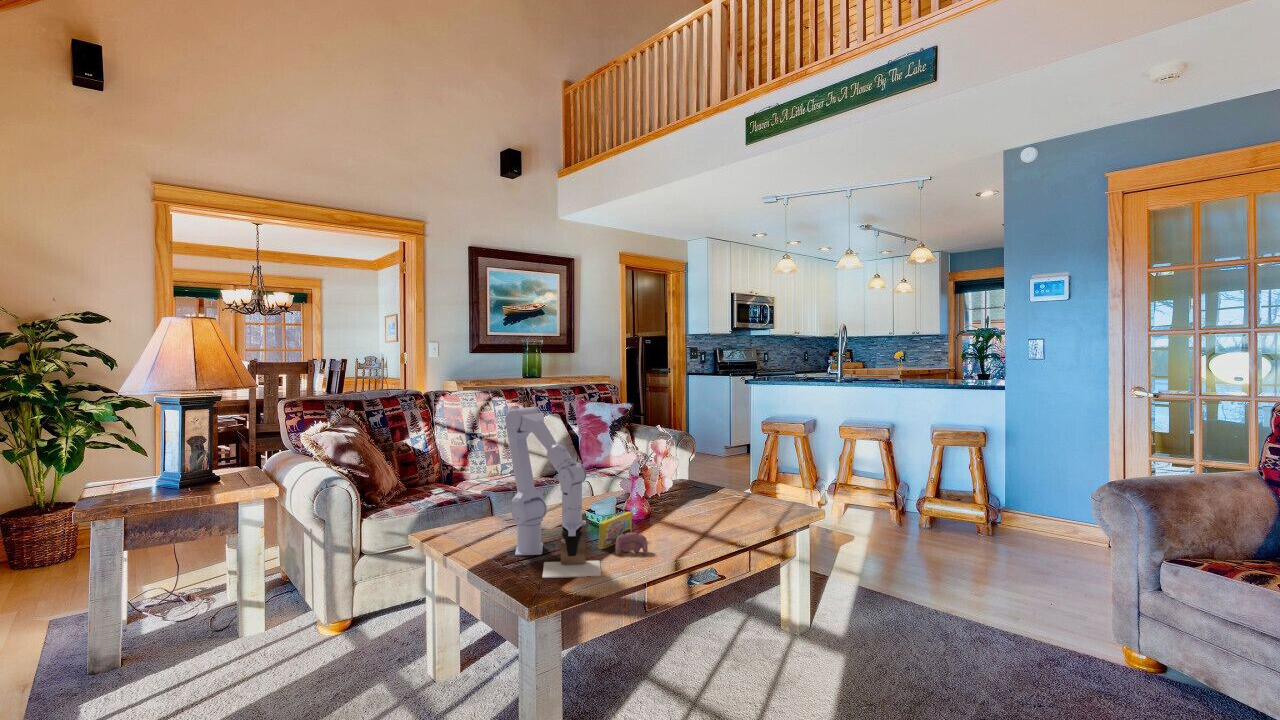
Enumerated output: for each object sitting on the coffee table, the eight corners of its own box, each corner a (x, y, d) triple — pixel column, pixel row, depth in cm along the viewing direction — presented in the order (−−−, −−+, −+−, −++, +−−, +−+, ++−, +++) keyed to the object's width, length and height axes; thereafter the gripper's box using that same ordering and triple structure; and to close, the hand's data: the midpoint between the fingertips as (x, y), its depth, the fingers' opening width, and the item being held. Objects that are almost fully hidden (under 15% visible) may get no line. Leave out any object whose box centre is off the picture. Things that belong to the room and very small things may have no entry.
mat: (544, 563, 177) (544, 562, 177) (599, 561, 179) (599, 560, 179) (542, 578, 166) (542, 576, 166) (601, 576, 168) (601, 574, 168)
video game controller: (647, 556, 188) (646, 533, 191) (648, 554, 184) (647, 531, 187) (615, 557, 188) (615, 533, 191) (615, 555, 184) (615, 531, 186)
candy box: (603, 550, 189) (603, 523, 189) (597, 549, 191) (597, 522, 190) (632, 536, 203) (632, 511, 203) (627, 535, 204) (627, 510, 204)
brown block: (560, 559, 178) (561, 539, 178) (585, 558, 179) (585, 538, 179) (560, 563, 175) (560, 543, 174) (585, 563, 175) (585, 542, 175)
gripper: (586, 513, 170) (586, 561, 170) (585, 499, 184) (585, 544, 184) (560, 513, 169) (560, 562, 169) (561, 500, 183) (561, 545, 184)
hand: (571, 553), depth 177 cm, fingers closed on brown block, 3 cm apart
